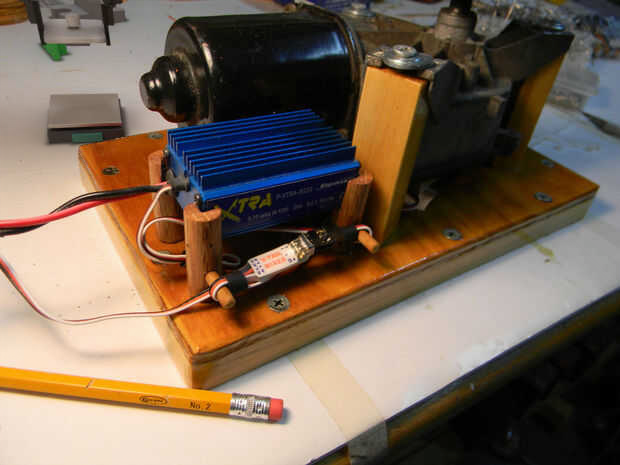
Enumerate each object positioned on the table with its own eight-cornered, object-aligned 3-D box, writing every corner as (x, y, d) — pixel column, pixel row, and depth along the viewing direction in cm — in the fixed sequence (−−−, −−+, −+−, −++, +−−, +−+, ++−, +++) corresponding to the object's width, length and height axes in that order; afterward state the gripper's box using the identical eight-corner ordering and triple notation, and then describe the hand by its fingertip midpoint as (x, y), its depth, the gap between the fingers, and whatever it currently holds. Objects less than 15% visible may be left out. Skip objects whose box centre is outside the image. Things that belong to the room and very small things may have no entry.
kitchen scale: (50, 147, 87) (46, 130, 84) (53, 112, 96) (49, 97, 94) (125, 143, 91) (123, 127, 89) (121, 110, 100) (119, 95, 98)
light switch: (108, 54, 84) (104, 24, 81) (46, 54, 81) (40, 24, 78) (104, 34, 91) (100, 6, 88) (47, 34, 87) (40, 5, 84)
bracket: (51, 19, 134) (42, -23, 127) (111, 12, 145) (106, -26, 138) (66, 30, 130) (58, -13, 123) (127, 22, 140) (123, -17, 133)
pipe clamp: (72, 61, 116) (68, 42, 113) (56, 63, 114) (52, 44, 111) (57, 44, 122) (53, 26, 119) (41, 46, 120) (37, 27, 117)
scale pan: (48, 128, 85) (47, 124, 85) (51, 97, 94) (50, 94, 93) (121, 125, 89) (121, 122, 89) (118, 96, 98) (117, 93, 97)
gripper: (-42, -113, 65) (3, 49, 79) (131, -94, 73) (144, 51, 87) (-34, -120, 70) (7, 34, 84) (127, -102, 78) (140, 36, 92)
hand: (76, 42), depth 86 cm, fingers closed on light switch, 10 cm apart
